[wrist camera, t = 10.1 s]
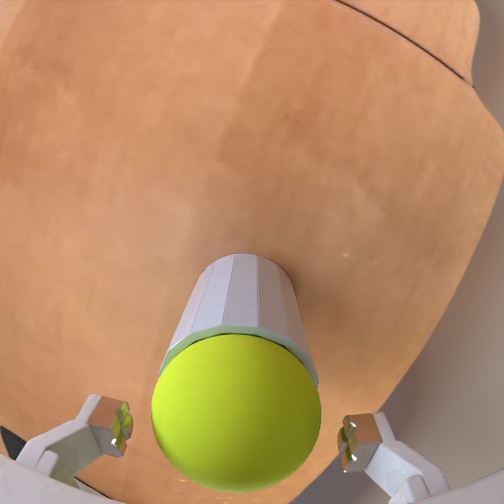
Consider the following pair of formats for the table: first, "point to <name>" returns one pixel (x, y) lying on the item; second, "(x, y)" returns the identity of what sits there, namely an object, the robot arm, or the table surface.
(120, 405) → the robot arm
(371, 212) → the table surface
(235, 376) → the tennis ball
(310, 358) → the cup
